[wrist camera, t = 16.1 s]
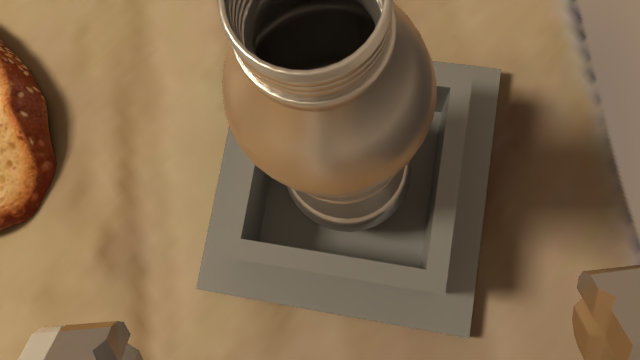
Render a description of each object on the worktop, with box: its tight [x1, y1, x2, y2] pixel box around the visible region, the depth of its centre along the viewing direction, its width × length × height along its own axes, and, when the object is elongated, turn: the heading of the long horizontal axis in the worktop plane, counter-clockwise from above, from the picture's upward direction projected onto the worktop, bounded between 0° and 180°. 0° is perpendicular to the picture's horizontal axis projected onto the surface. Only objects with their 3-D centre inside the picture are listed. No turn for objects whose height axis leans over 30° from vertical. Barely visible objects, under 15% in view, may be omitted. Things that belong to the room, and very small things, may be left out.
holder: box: [196, 61, 501, 338], centre depth 29 cm, size 15×15×5 cm
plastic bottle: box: [217, 0, 437, 232], centre depth 21 cm, size 6×7×20 cm
